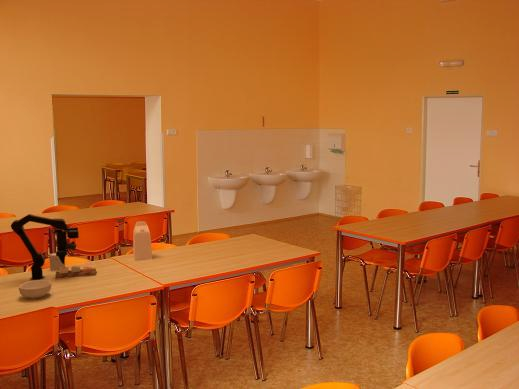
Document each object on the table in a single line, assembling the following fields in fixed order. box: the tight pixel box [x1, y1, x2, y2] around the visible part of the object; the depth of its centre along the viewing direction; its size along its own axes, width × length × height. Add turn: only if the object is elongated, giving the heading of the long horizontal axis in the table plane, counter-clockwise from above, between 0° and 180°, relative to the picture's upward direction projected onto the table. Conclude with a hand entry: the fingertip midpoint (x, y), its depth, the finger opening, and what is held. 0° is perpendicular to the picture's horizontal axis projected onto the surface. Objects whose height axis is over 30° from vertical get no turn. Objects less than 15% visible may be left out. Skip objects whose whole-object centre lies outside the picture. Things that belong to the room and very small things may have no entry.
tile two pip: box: [70, 265, 81, 273], centre depth 348 cm, size 5×5×3 cm
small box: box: [48, 252, 66, 272], centre depth 363 cm, size 8×6×10 cm
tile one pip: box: [58, 266, 69, 274], centre depth 346 cm, size 5×5×3 cm
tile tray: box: [54, 267, 97, 280], centre depth 348 cm, size 24×10×2 cm, turn 105°
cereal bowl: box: [18, 279, 52, 300], centre depth 306 cm, size 17×17×7 cm
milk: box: [132, 221, 153, 261], centre depth 387 cm, size 12×12×26 cm
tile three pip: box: [82, 266, 93, 272], centre depth 350 cm, size 5×5×3 cm
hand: (63, 263), depth 345 cm, fingers closed
